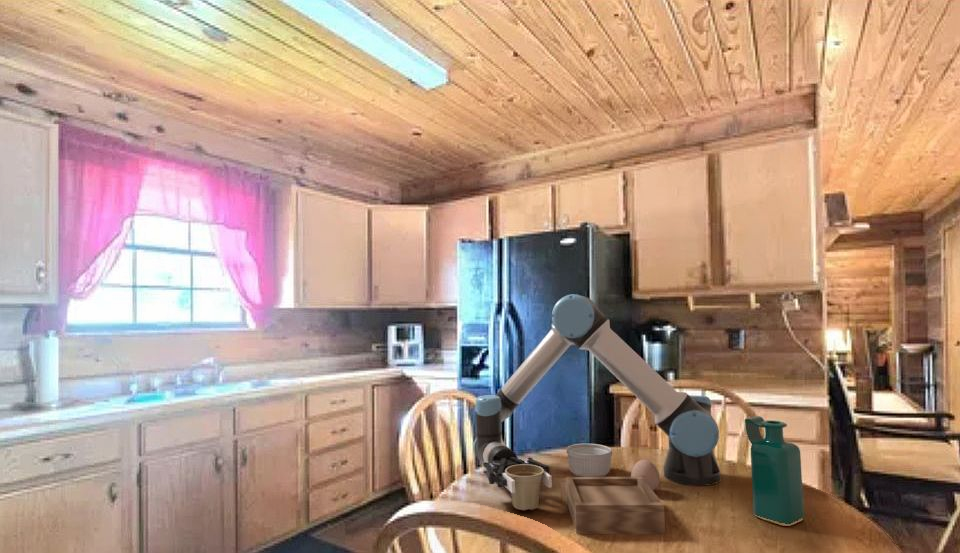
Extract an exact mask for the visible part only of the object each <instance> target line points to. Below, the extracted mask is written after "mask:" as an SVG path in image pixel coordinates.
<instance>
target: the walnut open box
mask: <svg viewBox="0 0 960 553" xmlns="http://www.w3.org/2000/svg"><path fill="white" fill-rule="evenodd" d="M565 495H566V498H565V499H566V505H567V508H568V511H569V515H570V517H571V521H572V524H573V528H574V531H575V534H576V535H601V534H602V535H619V534H620V535H629V534H630V535H647V534H648V535H656V534H657V535H660V534H661V535H662V534H663V535H664V534H666V522H665V521H666V520H665V505H664V503H663V502H662V501H661V499H660V498H659V497H658V495H657V494H656V493H655V492H654V491H652V489H651V488H650V487H649V486H648V484H647V483H646V482H645V480H644V479H643V478H642V477H631V476H604V477H580V476H566V477H565Z"/></svg>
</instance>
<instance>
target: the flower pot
mask: <svg viewBox="0 0 960 553" xmlns="http://www.w3.org/2000/svg"><path fill="white" fill-rule="evenodd" d="M505 473H506V474H507V475H508V476H510V477H511V478H512V479H513V480H514V481H515V493H511V492H510V495H511V502H512V506H513V508H515V509H517V510H521V511H527V510H531V511H533V510H535V509H537V508H538V507H539V500H540V491H541V490H540V489H541V483H542V482H541V478H542V474H543V473H544V469H543V468H541V467H539V466H536V465H529V464H520V465H513V466H510V467H508V468H506V469H505Z"/></svg>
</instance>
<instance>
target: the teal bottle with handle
mask: <svg viewBox="0 0 960 553" xmlns="http://www.w3.org/2000/svg"><path fill="white" fill-rule="evenodd" d="M744 426H745V431H746V432H745V433H746V436H747V438H748V440H749V442H750V443H751V445H750V465H751V468H750V469H751V485H752V486H751V488H752V490H751V491H752V506H753V509H752V510H753V515H754V514H755V515H757V516H760V517H763V518H766V519H770V520H773V521H777V522H779V523H785V524H791V523H793V522H795V521H798V520H799V519H801V518H804V519H805V514H804V513H805V512H804V510H805V509H804V494H803V493H804V492H803V478H802V477H803V476H802V458H801V456H802V455H801V450H800V447H799V446H798V445H797V444H795V443H793V442H790V441H786V440H785V438H784V428H786V427H787V426H788V424H787V423H786V422H784V421H780V420H765V419H764V418H763V417H762V416H759V415H757V416H754V417H753V416H752V417H749V418H745V419H744ZM760 428H764V431H765V432H764V436H765V437H764V438H763V436H762V434H761V431H760ZM755 515H754V516H755Z"/></svg>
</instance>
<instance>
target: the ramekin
mask: <svg viewBox="0 0 960 553" xmlns="http://www.w3.org/2000/svg"><path fill="white" fill-rule="evenodd" d="M566 454H567V460H568V468H569V470H570V472H571V473H572V474H573V475H574V476H576V477H607V475H608V474H609V473H610V470H611V462H612V456H613V450H612V448H610V447H609V446H607V445H603V444H597V443H575V444H572V445H570V444H569V445H568V446H567V447H566Z"/></svg>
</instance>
